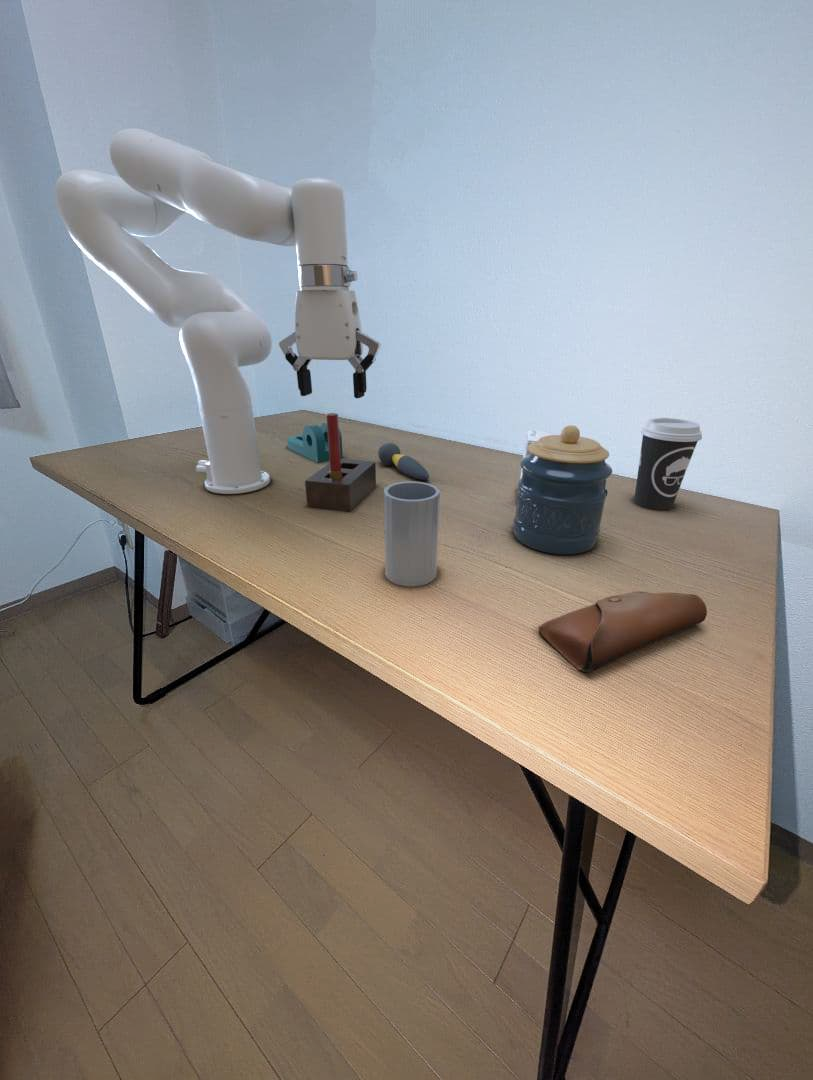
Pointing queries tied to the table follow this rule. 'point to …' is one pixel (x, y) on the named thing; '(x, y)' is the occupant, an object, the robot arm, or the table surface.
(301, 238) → the robot arm
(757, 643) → the table surface
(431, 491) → the grey cylindrical cup
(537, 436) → the ink box
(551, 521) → the canister
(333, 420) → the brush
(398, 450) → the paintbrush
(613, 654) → the sunglasses case
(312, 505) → the holder
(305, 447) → the bracket
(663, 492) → the coffee cup
